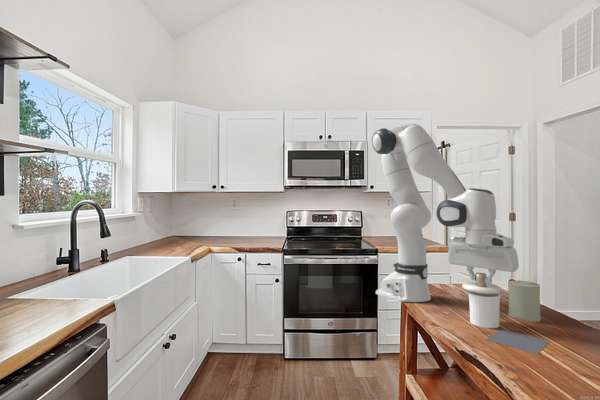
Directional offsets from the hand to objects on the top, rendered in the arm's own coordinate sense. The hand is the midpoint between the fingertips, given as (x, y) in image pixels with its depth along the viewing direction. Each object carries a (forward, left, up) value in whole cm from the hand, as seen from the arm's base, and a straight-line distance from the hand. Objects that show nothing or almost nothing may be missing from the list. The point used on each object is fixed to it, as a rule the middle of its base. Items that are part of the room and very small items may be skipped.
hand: (481, 281), depth 106 cm
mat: (+12, -8, -14) cm, 20 cm away
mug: (0, 0, -14) cm, 14 cm away
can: (+7, +18, -14) cm, 24 cm away
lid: (0, 0, -2) cm, 2 cm away
